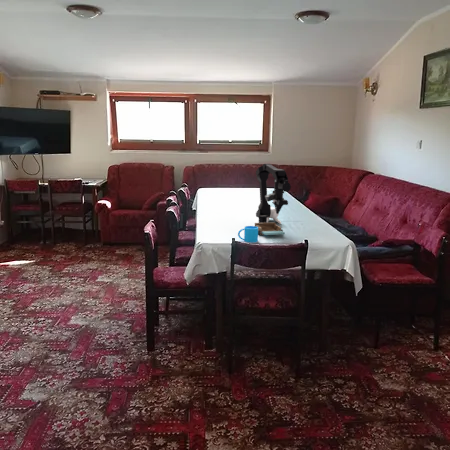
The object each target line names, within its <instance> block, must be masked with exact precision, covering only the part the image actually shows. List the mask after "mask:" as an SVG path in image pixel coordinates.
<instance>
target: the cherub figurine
mask: <svg viewBox="0 0 450 450" xmlns="http://www.w3.org/2000/svg"><path fill="white" fill-rule="evenodd" d="M279 215H280V212H279V213H278V214H277V213H276V209H275V207H274V206H271V214H270V217H267V222H269V221H270V219H273V222H274V221H275V223H278V224H280V225H282V221H281V220H280V219H278V217H279Z"/></svg>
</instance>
